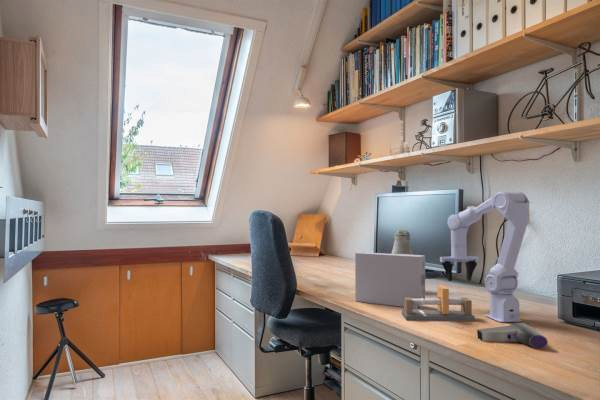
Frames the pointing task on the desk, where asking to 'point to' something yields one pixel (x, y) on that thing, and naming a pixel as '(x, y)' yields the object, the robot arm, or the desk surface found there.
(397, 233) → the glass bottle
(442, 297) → the collar
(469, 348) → the desk surface
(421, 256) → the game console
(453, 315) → the pipe stand
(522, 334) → the infrared thermometer
